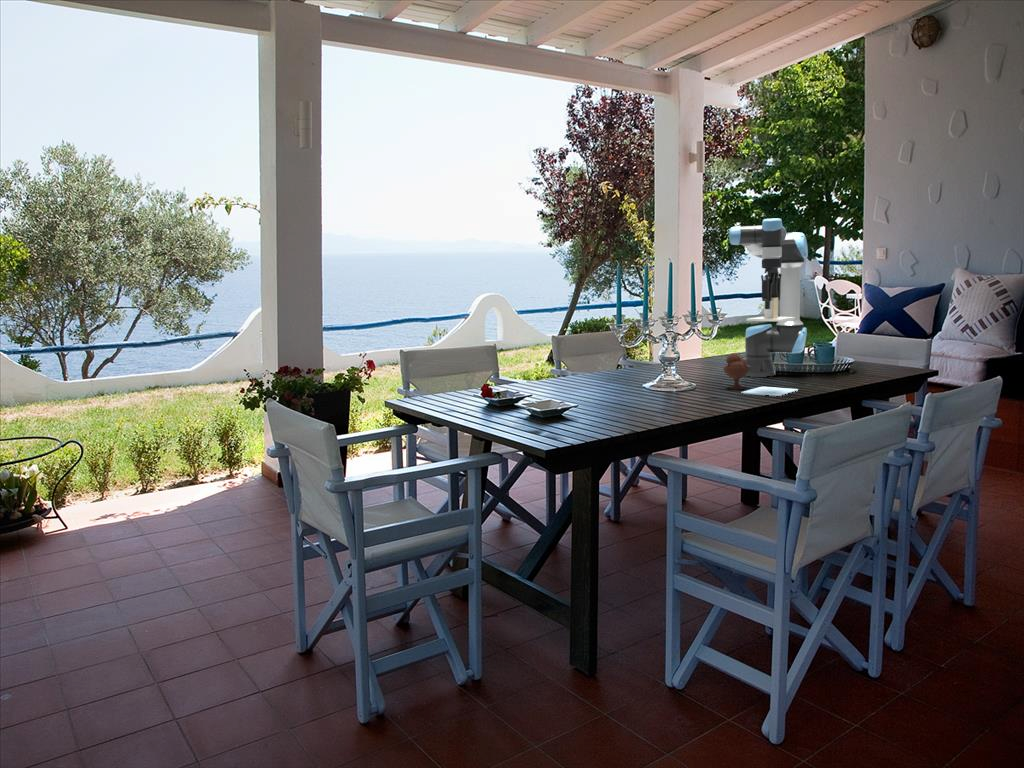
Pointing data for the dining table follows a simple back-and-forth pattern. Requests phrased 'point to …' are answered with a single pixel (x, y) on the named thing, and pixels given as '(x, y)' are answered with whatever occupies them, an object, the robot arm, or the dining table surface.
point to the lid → (774, 314)
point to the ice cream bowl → (736, 369)
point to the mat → (770, 391)
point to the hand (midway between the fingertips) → (770, 317)
